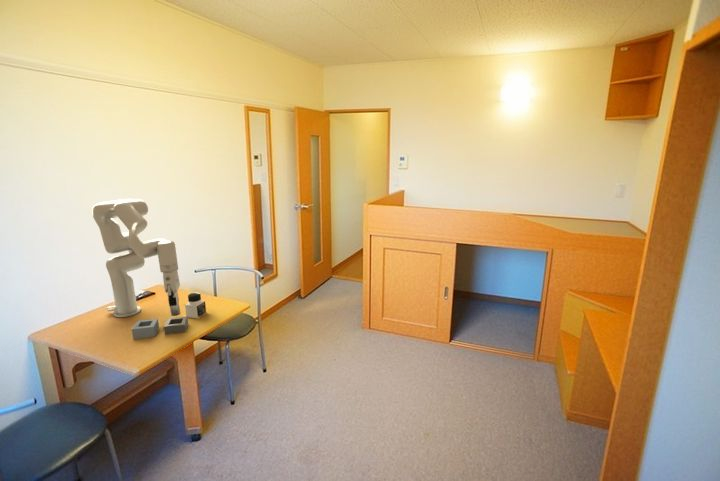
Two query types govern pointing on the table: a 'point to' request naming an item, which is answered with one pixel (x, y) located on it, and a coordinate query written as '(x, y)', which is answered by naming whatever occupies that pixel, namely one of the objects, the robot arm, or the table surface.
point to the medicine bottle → (195, 306)
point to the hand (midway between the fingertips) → (174, 303)
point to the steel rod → (175, 307)
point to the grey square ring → (176, 325)
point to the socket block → (145, 328)
